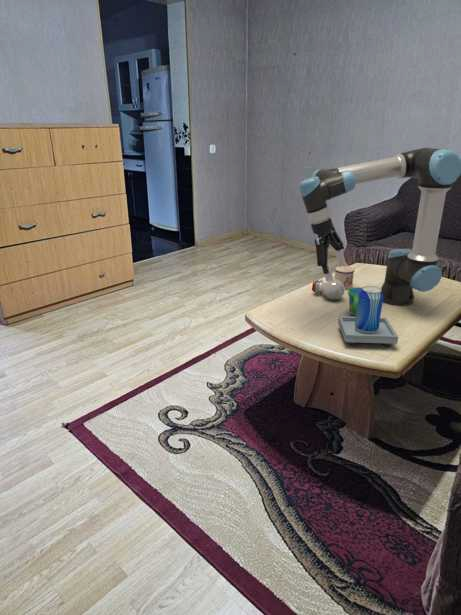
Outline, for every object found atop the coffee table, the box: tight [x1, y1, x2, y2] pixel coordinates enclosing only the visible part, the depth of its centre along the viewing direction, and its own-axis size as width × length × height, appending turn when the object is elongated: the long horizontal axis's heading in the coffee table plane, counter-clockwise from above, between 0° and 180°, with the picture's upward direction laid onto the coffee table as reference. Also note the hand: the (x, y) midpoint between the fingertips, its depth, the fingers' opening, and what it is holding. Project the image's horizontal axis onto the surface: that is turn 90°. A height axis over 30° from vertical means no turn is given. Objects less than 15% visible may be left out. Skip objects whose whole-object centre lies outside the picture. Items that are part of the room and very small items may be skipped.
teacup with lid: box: [333, 263, 355, 291], centre depth 211 cm, size 12×9×12 cm
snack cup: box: [347, 287, 363, 317], centre depth 180 cm, size 16×10×10 cm
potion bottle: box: [311, 278, 346, 301], centre depth 197 cm, size 9×10×15 cm
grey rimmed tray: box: [337, 315, 399, 348], centre depth 161 cm, size 18×16×5 cm
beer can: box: [355, 285, 384, 334], centre depth 157 cm, size 8×8×16 cm
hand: (336, 273), depth 166 cm, fingers open, 13 cm apart
